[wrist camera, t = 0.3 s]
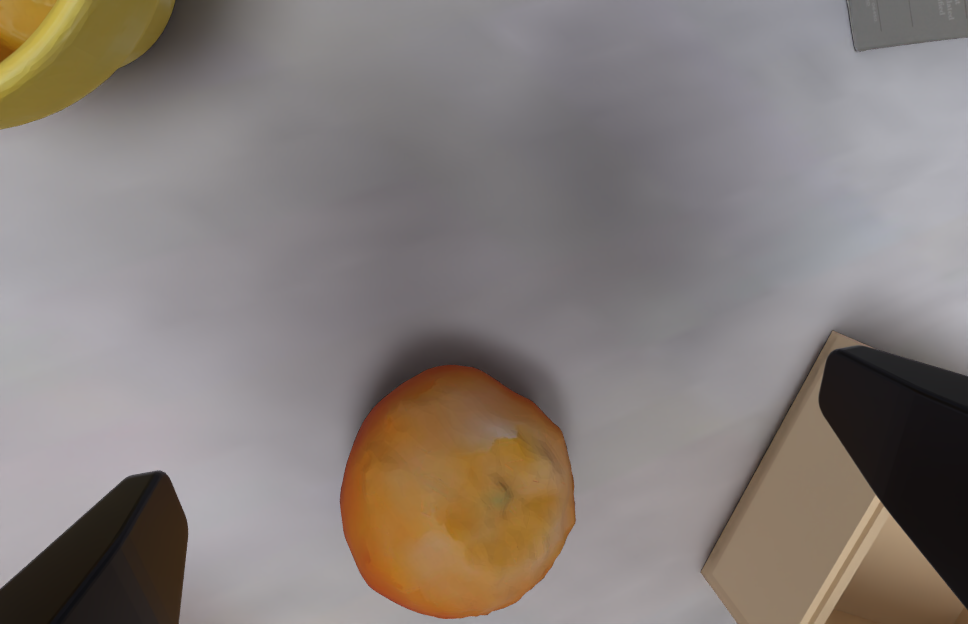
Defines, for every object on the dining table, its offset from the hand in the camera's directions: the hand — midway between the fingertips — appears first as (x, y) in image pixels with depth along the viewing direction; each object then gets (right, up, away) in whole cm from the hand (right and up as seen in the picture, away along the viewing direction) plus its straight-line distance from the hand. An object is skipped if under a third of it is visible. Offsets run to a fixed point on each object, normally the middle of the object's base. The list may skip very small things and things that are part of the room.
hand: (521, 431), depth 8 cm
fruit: (-2, -4, +17) cm, 17 cm away
